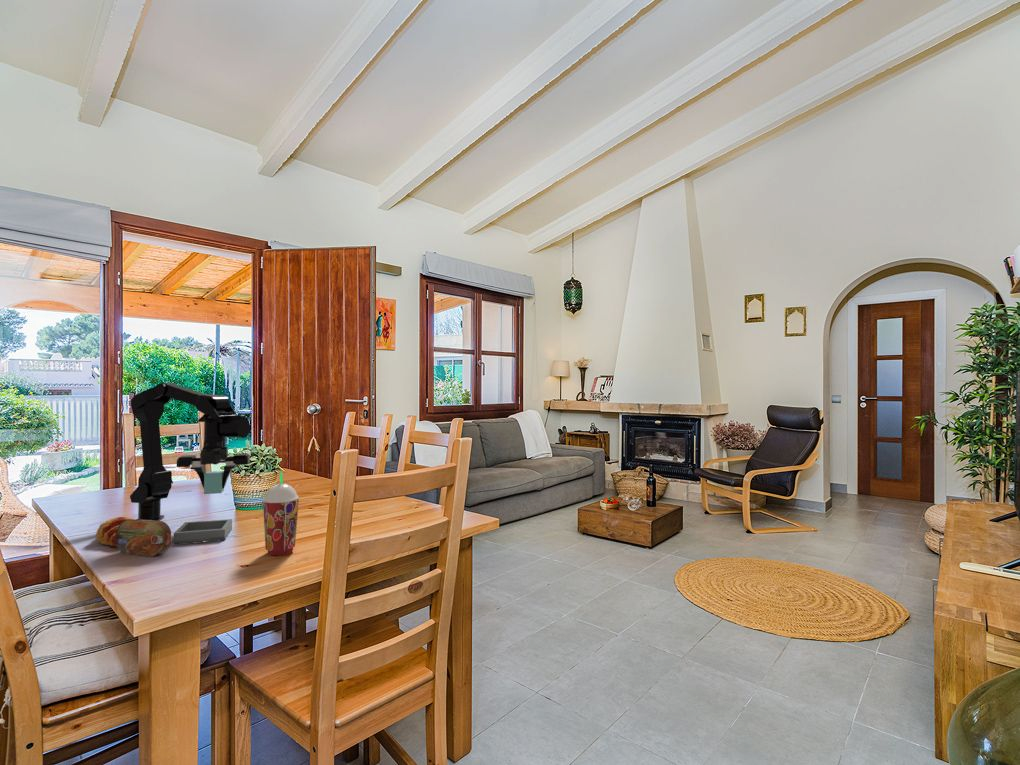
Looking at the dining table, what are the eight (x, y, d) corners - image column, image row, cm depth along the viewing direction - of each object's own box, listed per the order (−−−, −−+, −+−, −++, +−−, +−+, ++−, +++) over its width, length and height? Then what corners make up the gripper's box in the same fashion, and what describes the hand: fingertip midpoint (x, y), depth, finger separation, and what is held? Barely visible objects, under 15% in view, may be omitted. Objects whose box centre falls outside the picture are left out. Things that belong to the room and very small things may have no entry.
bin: (184, 532, 148) (185, 522, 148) (232, 529, 152) (232, 519, 152) (173, 544, 136) (173, 533, 136) (224, 540, 140) (224, 529, 141)
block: (207, 491, 158) (207, 471, 158) (223, 490, 159) (224, 470, 159) (204, 494, 154) (204, 473, 154) (221, 493, 155) (221, 473, 155)
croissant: (103, 546, 146) (86, 523, 144) (142, 524, 152) (126, 501, 150) (109, 563, 131) (91, 538, 128) (152, 538, 137) (135, 513, 134)
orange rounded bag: (113, 553, 129) (114, 519, 129) (125, 549, 132) (126, 516, 133) (162, 558, 126) (162, 523, 126) (173, 554, 129) (174, 520, 129)
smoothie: (304, 552, 131) (305, 472, 131) (270, 560, 125) (272, 476, 125) (289, 545, 136) (290, 469, 137) (256, 552, 130) (257, 472, 131)
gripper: (171, 440, 146) (170, 495, 146) (245, 438, 152) (244, 491, 152) (181, 436, 156) (181, 488, 156) (250, 435, 163) (249, 485, 163)
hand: (214, 488), depth 157 cm, fingers closed on block, 4 cm apart
